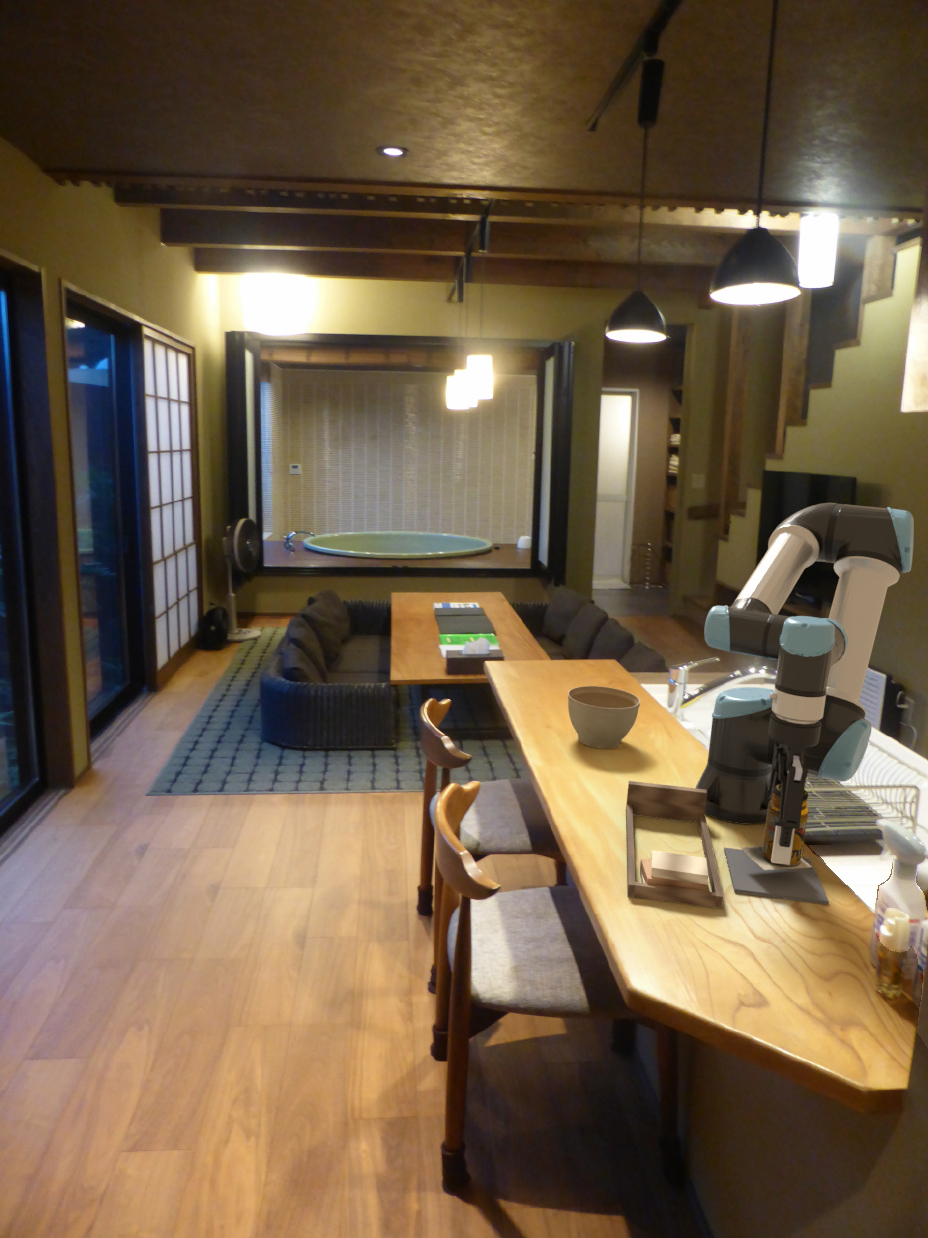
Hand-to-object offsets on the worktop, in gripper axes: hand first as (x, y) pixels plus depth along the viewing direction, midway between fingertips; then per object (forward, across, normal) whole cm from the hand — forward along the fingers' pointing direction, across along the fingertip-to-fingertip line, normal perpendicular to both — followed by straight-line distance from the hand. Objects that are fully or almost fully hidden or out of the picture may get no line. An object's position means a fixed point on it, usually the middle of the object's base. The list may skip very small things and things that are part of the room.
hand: (776, 852), depth 141 cm
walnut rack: (+4, -3, -16) cm, 17 cm away
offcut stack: (+5, +8, -16) cm, 19 cm away
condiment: (+1, 0, 0) cm, 1 cm away
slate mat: (+4, 0, 0) cm, 4 cm away
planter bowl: (+4, -54, -29) cm, 61 cm away
